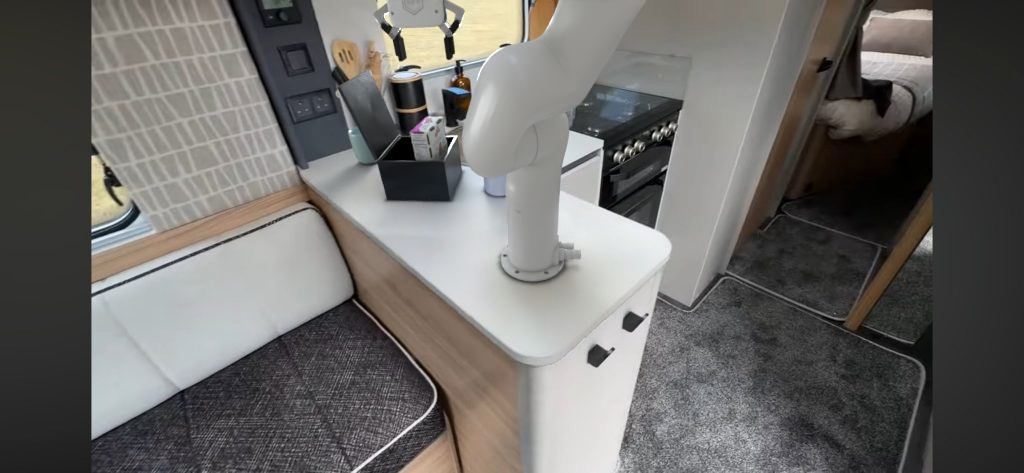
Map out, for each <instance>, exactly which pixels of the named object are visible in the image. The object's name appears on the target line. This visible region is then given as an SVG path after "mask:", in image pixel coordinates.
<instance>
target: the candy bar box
mask: <svg viewBox="0 0 1024 473" xmlns="http://www.w3.org/2000/svg"><path fill="white" fill-rule="evenodd" d="M409 136H410V137H411V142H412V146H413V151H414V155H415V159H416V161H442V159H443V157H444V156H445V154H446V152H447V150H448V145H447V138H446V136H447V133H446V127H445V120H444V116H434V115H433V116H431V115H428V116H425V117H424V118H423V119H422V120H420V122H419V123H418V124H416V126H415V127H413V129H411V130H410V131H409Z"/></svg>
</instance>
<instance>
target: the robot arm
mask: <svg viewBox="0 0 1024 473" xmlns="http://www.w3.org/2000/svg"><path fill="white" fill-rule="evenodd" d="M646 2H647V0H558V2H557V4H556V7H555V10H554V12H553V15H552V17H551V19H550V20H549V23H548V25H547V27H546V28H545V30H544V32H542V34H540V35H539V36H538V37H536V38H534V39H531V40H528V41H523V42H519V43H513V44H508V45H505V46H503V47H501V48H499V49H497V50H496V51H494V52H493V53H491V55H489V57H487V58H486V60H485V62H484V63H483V64H482V66H481V68H480V70H479V73H478V74H477V75H478V76H477V77H476V78H477V79H476V82H475V85H474V88H473V92H472V95H471V98H470V101H469V106H468V109H467V113H466V115H465V120H464V123H463V128H462V133H461V149H462V153H463V158H464V160H465V162H466V164H467V166H468V167H469V169H470V170H471V171H472V172H473V173H474V174H476V175H477V176H479V177H482V178H483V179H484V178H497V177H501V176H504V175H506V174H507V177H506V185H505V189H506V195H505V205H506V206H505V207H506V229H507V230H506V231H507V244H508V245H507V246H505V248H503V250H502V252H501V254H500V264H501V267H502V269H503V270H504V272H505V273H507V274H508V275H509V276H511V277H513V278H514V279H517V280H520V281H525V282H540V281H541V282H542V281H545V280H549V279H551V278H553V277H555V276H556V275H558V274H559V273H560V272H561V271H562V269H563V268H564V265H565V260H581V259H582V250H581V249H574V248H575V243H574V242H565V243H564V242H562V241H559V240H560V239H559V215H560V214H559V213H560V212H559V211H560V196H561V195H560V194H561V179H562V169H563V165H564V164H563V163H564V159H565V155H566V151H567V147H568V144H569V138H570V123H569V122H570V121H569V118H568V115H567V113H568V112H570V111H572V110H574V109H576V108H577V107H578V106H580V105H581V103H583V101H584V100H585V99H586V98H587V96H588V94H589V93H590V91H591V90H592V88H593V86H594V84H595V83H596V82H597V79H599V77H600V75H601V74H602V72H603V70H604V69H605V67H606V65H607V64H608V63H609V61H610V59H611V58H612V56H613V55H614V53H615V51H616V50H617V48H618V46H619V44H620V43H621V41H622V39H623V37H624V36H625V34H626V32H627V31H628V29H629V28H630V26H631V25H632V23H633V21H634V20H635V18H636V17H637V15H638V14H639V13H640V11H641V9H642V8H643V7H644V5H645V4H646ZM447 10H448V11H450V12H452V13H453V14H454V20H453V22H452V23H451V24H450V23H449V22H448V11H447ZM465 12H466V10H465V8H464V7H461V6H460V5H458V4H456V3H454V2H453V1H450V0H386V3H385V4H384V5H382V6H381V7H380V8H378V9H377V10H376V11H374V12H373V17H374V19H375V21H376V22H377V24H378V25H379V26H380V29H381V30H382V31H383V32H384V33H385V34H387V36H388V37H389V38H390V40H392V45H393V50H394V54H395V57H397V58H398V62H400V63H401V62H404V61H405V60H406V59H408V55H407V50H406V44H405V39H404V38H403V36H401V34H402V32H403V30H404V29H420V28H436V27H438V28H439V29H440V30H441V31H442V32H443V34H444V37H443V44H444V52H445V53H444V54H445V59H446V60H447V61H451V60H452V59H453V58H454V55H455V54H456V47H455V40H454V39H455V38H454V35H455V34H456V32H457V31H458V30H459V28H460V27H461V25H462V21H463V19H464V15H465ZM386 15H388V17H389V21H390V23H389V22H388V21H387V20H386V17H385V16H386Z"/></svg>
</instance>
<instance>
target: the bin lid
mask: <svg viewBox="0 0 1024 473" xmlns="http://www.w3.org/2000/svg"><path fill="white" fill-rule="evenodd" d="M336 89H337V90H335V96H336V98H338V99H342V100H343V102H344V104H345V106H346V108H347V109H348V112H349V114H350V116H351V117H352V120H353V121H354V123H355V125H356V127H358V129H359V131H360V133H361V135H362V137H363V139H364V140H365V142H366V144H367V146H368V148H369V150H370V152H371V154H372V156H373V158H374V160H378V159H380V158H379V157H381V156H382V155H383V154H384V153H385V152H386V150H387V149H388V148H389V147H390V146H391V144H392V143H393V142H394V141H395V140H396V139H397V137H398V136H400V131H399V130H398V128H397V125H396V123H395V121H394V119H393V117H392V114H391V113H390V110H389V108H388V105H387V103H386V101H385V99H384V97H383V95H382V93H381V91H380V89H379V86H378V84H377V82H376V80H375V77H374V75H373V73H372V71H371V68H367V69H364V71H362V72H360V73H359V74H357V75H355V76H353V77H352V78H350V79H349V80H347V81H345V82H343V83H341V84H340V85H339V86H337V87H336Z"/></svg>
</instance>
